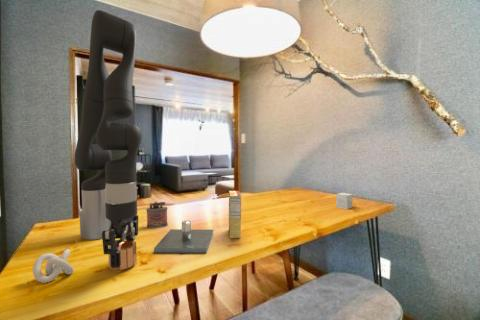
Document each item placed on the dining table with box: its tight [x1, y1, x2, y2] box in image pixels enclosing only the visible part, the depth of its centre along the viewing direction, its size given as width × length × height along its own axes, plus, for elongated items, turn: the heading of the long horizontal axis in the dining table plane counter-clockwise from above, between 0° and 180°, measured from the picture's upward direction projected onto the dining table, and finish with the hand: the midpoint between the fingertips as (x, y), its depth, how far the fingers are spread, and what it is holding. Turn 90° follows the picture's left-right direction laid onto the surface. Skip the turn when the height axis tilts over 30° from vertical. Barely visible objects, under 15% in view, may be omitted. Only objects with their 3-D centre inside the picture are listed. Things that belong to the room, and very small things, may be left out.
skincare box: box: [335, 192, 354, 210], centre depth 123 cm, size 6×6×7 cm
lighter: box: [146, 201, 169, 229], centre depth 94 cm, size 8×3×10 cm, turn 105°
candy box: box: [228, 190, 242, 239], centre depth 85 cm, size 9×4×15 cm, turn 6°
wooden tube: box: [108, 240, 137, 271], centre depth 62 cm, size 7×7×5 cm
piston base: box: [153, 220, 214, 254], centre depth 78 cm, size 16×16×7 cm
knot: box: [32, 248, 75, 284], centre depth 57 cm, size 8×8×6 cm
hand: (123, 259), depth 62 cm, fingers closed on wooden tube, 6 cm apart
